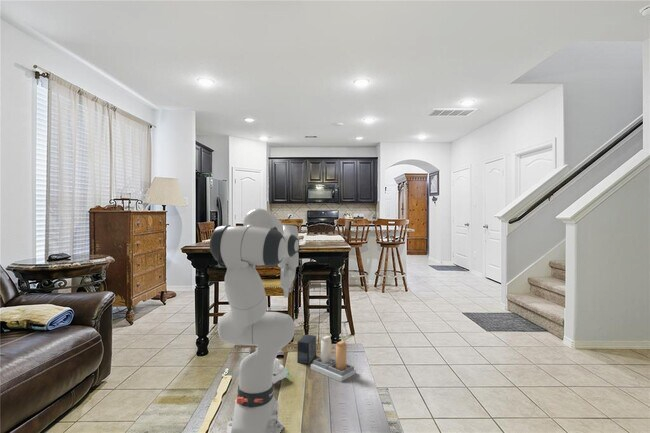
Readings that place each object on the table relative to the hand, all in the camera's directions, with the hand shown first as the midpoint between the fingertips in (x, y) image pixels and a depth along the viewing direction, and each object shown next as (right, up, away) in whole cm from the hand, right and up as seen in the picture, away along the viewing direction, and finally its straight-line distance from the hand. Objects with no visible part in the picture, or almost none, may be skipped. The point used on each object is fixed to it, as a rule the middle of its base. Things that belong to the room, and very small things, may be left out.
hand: (287, 294), depth 151 cm
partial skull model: (-6, -37, +1) cm, 38 cm away
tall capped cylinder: (+23, -35, +7) cm, 43 cm away
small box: (+7, -37, +22) cm, 44 cm away
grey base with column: (+20, -37, +10) cm, 43 cm away
